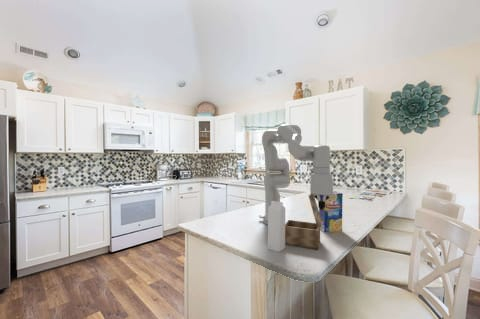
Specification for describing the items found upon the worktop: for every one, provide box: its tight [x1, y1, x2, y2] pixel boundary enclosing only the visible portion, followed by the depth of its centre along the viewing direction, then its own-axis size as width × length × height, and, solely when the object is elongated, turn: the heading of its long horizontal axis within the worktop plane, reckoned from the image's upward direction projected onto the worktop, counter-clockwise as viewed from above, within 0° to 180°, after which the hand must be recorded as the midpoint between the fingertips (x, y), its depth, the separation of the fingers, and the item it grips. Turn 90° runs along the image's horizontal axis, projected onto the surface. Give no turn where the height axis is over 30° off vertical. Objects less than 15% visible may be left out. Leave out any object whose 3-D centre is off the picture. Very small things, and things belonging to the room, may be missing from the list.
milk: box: [267, 201, 286, 253], centre depth 106 cm, size 6×6×22 cm
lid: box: [308, 193, 322, 231], centre depth 111 cm, size 16×12×2 cm
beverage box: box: [318, 191, 343, 233], centre depth 134 cm, size 7×11×22 cm, turn 99°
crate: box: [285, 219, 321, 251], centre depth 113 cm, size 16×12×9 cm
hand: (321, 209), depth 109 cm, fingers closed
